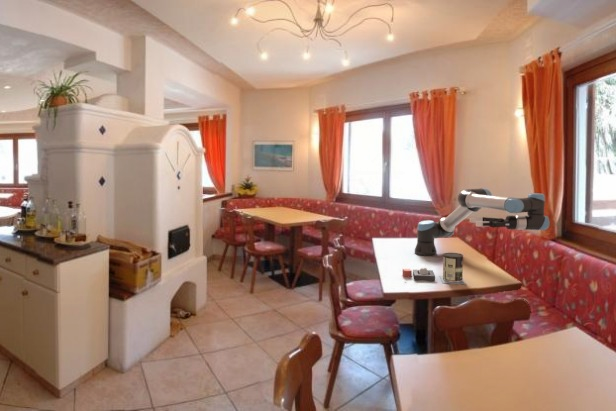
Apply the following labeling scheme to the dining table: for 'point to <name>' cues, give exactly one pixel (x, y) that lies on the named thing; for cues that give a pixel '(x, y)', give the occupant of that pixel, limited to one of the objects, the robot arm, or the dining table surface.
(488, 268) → the dining table surface
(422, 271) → the dome
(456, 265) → the coffee can
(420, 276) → the popper frame
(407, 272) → the die
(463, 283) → the square pad
